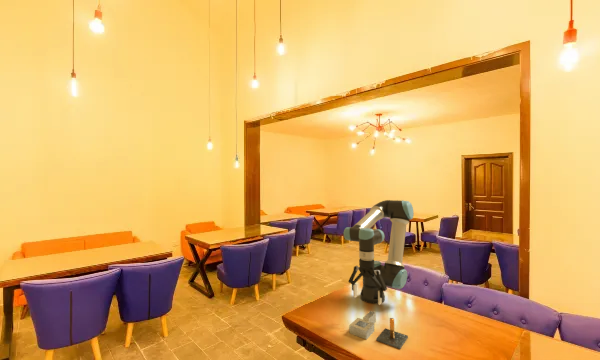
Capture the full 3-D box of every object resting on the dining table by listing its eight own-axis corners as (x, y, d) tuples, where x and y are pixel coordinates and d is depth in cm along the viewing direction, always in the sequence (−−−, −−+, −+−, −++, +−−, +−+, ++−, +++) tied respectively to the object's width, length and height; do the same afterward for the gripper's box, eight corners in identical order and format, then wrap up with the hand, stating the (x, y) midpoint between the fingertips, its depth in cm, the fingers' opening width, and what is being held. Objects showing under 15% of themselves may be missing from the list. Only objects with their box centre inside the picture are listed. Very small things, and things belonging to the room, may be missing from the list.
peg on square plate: (385, 330, 135) (384, 311, 135) (407, 337, 129) (407, 317, 129) (376, 340, 127) (376, 320, 127) (400, 349, 120) (399, 327, 120)
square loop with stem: (365, 318, 147) (365, 309, 147) (381, 323, 142) (381, 314, 142) (349, 333, 133) (349, 323, 133) (366, 339, 128) (366, 328, 128)
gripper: (341, 256, 145) (342, 296, 144) (387, 264, 129) (388, 309, 129) (348, 253, 151) (349, 292, 150) (393, 261, 135) (393, 304, 135)
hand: (367, 300), depth 139 cm, fingers open, 13 cm apart
